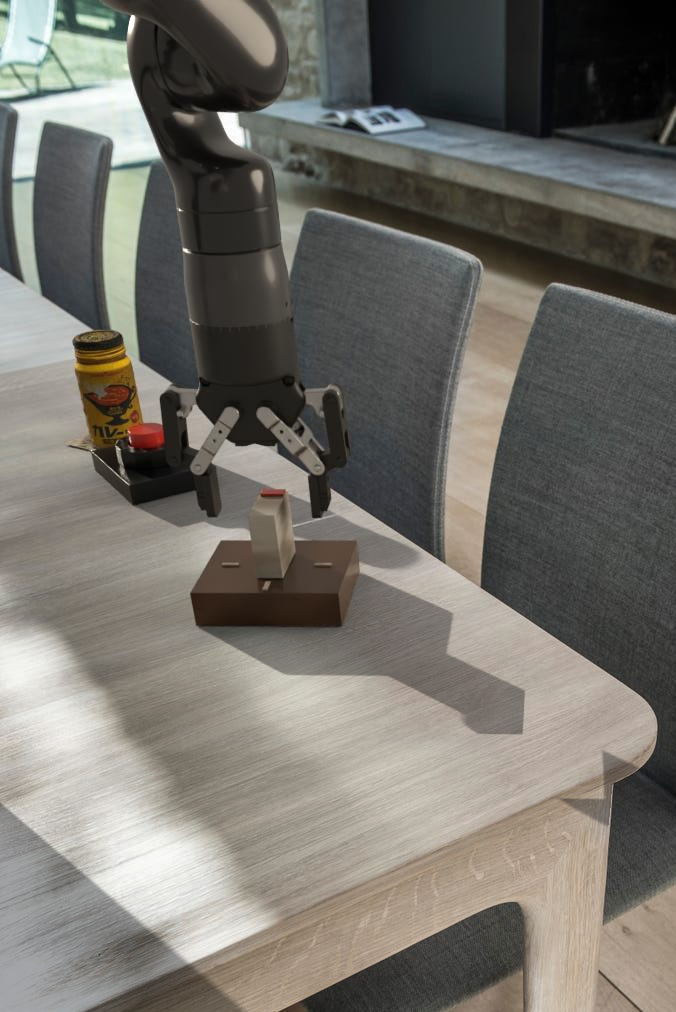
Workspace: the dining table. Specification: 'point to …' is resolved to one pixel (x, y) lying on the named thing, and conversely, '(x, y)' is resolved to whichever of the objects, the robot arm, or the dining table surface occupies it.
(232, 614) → the brown flat block
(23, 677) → the dining table surface
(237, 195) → the robot arm
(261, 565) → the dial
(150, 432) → the button
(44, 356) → the dining table surface
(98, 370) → the condiment
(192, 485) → the button box
